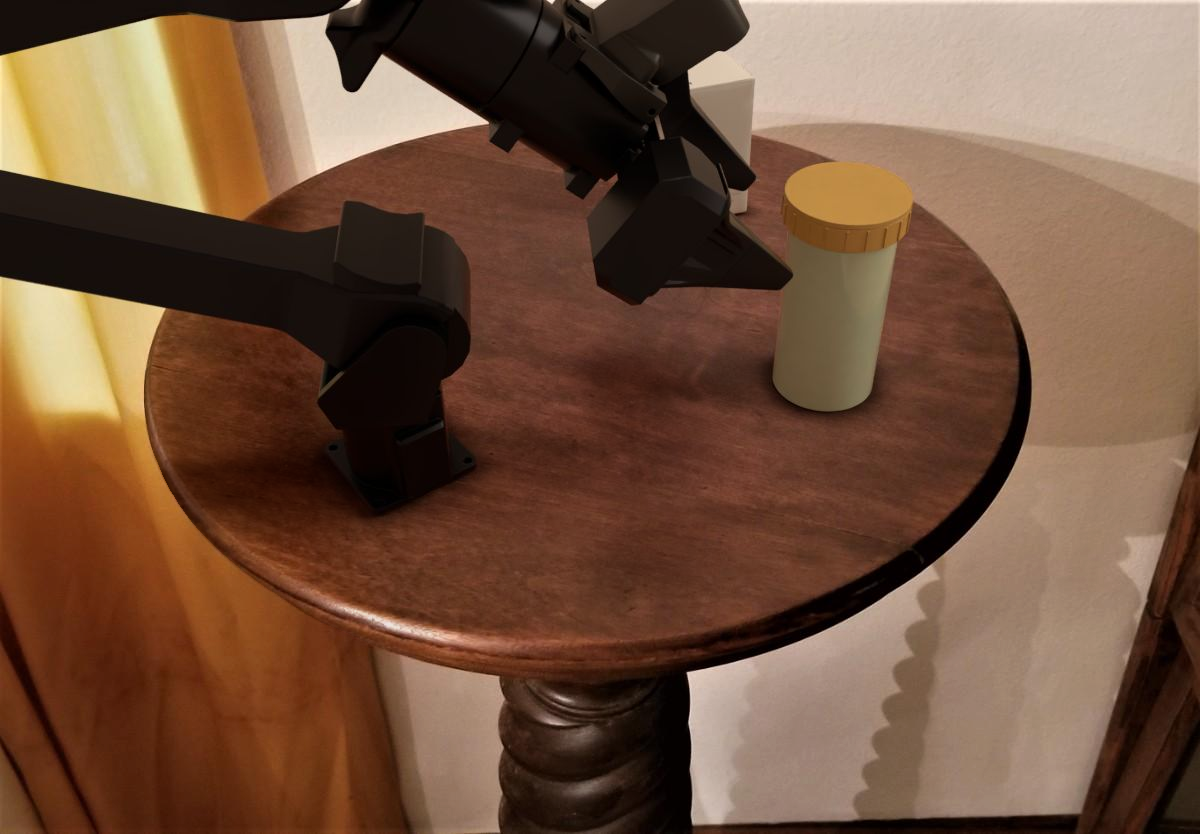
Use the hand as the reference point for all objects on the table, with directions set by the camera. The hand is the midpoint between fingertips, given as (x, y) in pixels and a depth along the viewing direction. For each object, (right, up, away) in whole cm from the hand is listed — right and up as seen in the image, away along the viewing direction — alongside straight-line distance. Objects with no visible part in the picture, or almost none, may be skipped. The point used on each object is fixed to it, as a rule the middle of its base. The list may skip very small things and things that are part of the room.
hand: (767, 229), depth 57 cm
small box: (-1, +7, +30) cm, 31 cm away
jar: (+5, -7, +13) cm, 16 cm away
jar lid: (+5, +3, +5) cm, 7 cm away
